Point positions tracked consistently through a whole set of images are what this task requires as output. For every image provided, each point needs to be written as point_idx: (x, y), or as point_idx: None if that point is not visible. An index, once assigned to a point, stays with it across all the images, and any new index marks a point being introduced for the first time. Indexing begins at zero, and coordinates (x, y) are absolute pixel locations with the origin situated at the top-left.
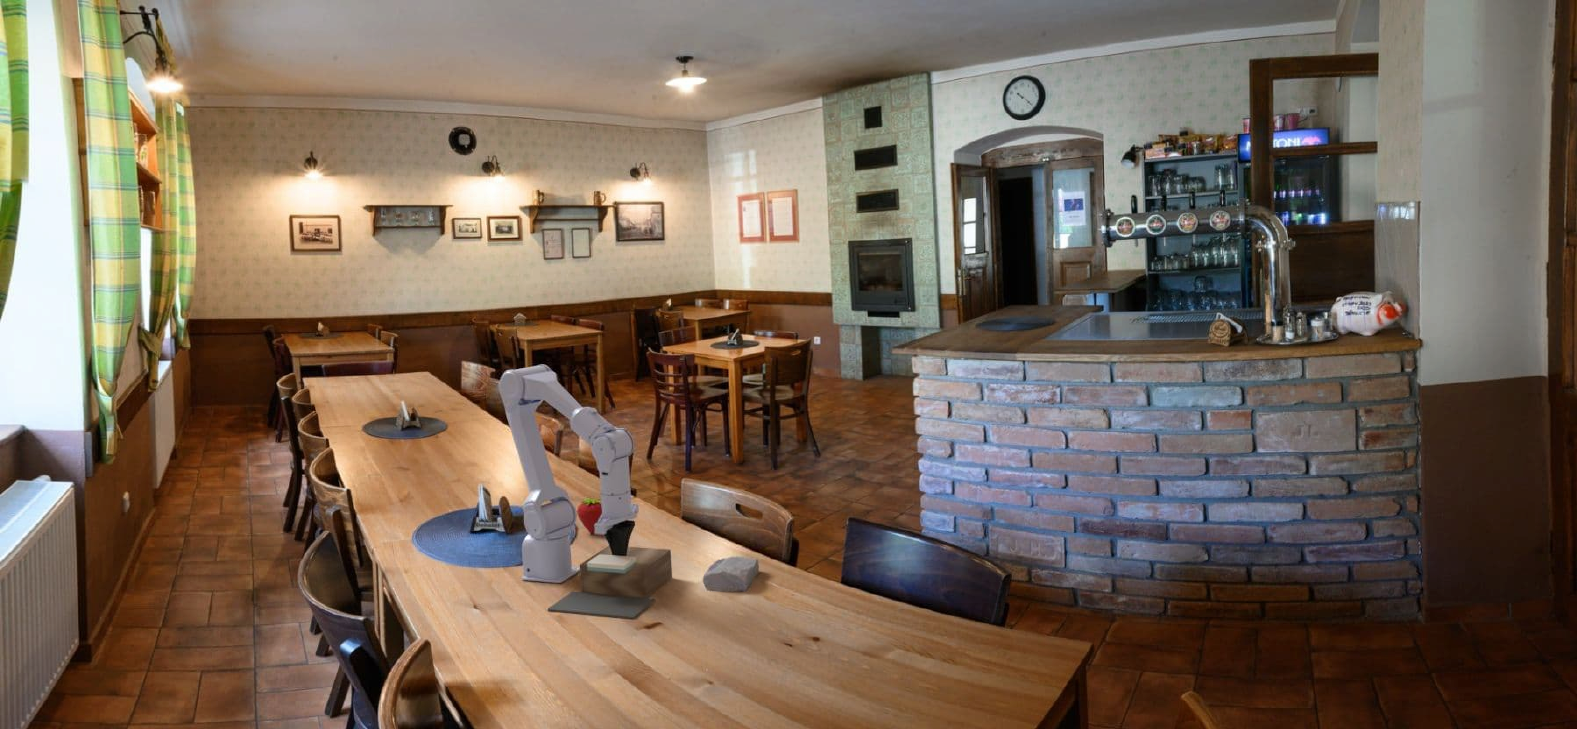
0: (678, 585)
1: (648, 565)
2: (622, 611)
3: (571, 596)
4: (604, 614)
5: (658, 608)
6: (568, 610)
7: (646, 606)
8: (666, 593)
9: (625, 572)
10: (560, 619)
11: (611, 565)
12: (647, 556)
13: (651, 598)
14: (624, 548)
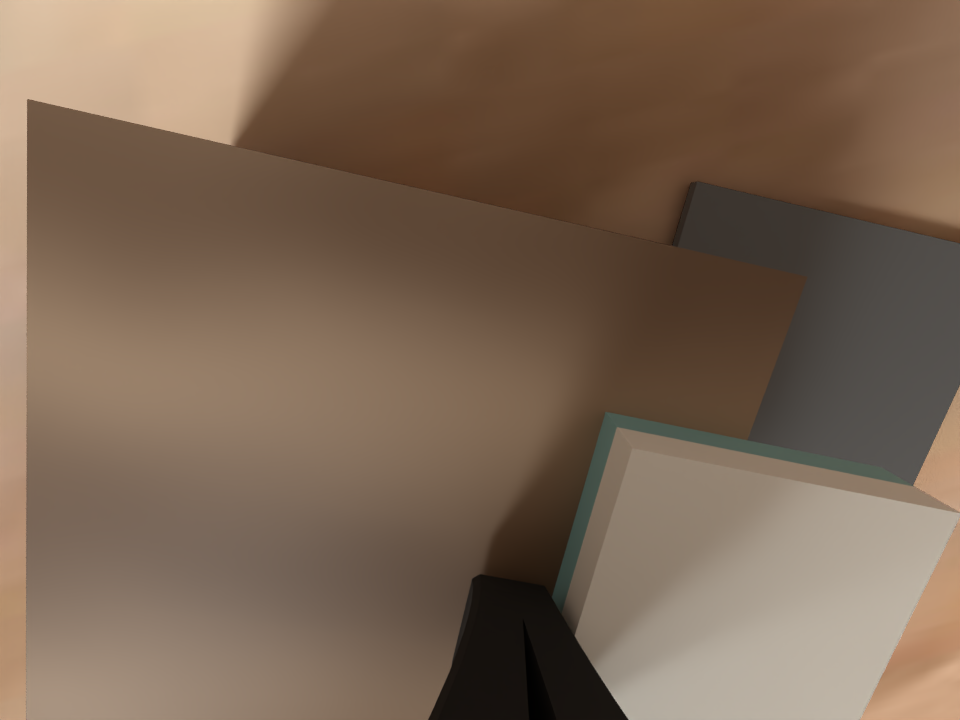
0: (380, 65)
1: (657, 261)
2: (899, 360)
3: None
4: (922, 459)
5: (838, 123)
6: None
7: (833, 214)
8: (548, 129)
9: (871, 466)
10: (903, 668)
11: (880, 657)
12: (330, 354)
13: (691, 212)
14: (584, 683)
